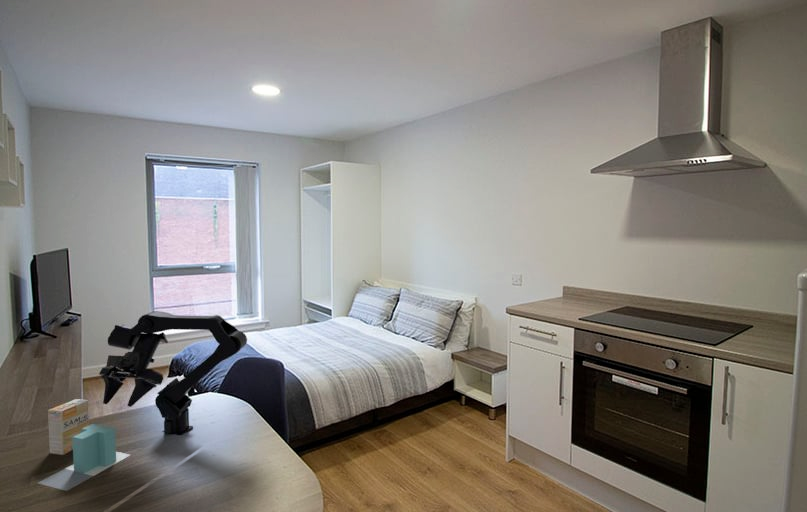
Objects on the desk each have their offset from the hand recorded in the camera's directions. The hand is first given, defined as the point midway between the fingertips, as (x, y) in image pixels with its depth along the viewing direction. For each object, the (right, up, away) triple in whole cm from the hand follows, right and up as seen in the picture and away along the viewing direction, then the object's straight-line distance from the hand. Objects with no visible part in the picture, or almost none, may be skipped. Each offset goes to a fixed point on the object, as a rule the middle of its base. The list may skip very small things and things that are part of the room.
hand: (116, 405), depth 122 cm
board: (-2, -14, -9) cm, 17 cm away
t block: (-1, -13, -8) cm, 15 cm away
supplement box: (-14, -13, +1) cm, 19 cm away
